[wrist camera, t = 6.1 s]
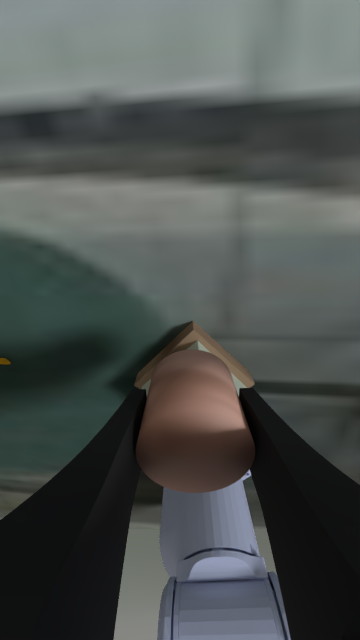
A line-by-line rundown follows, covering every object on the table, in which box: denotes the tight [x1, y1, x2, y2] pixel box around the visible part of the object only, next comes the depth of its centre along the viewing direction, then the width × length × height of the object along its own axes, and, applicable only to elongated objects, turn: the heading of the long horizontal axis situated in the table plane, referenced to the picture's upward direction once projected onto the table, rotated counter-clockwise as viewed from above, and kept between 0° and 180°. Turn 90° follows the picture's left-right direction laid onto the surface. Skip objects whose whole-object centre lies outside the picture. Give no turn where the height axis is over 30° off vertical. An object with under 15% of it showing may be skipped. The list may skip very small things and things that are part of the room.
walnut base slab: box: [134, 321, 255, 389], centre depth 21 cm, size 8×8×2 cm
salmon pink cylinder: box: [136, 349, 255, 493], centre depth 10 cm, size 4×4×4 cm
